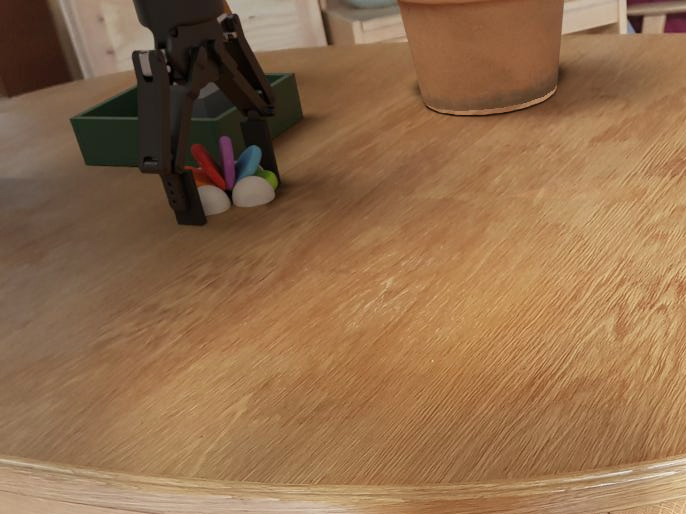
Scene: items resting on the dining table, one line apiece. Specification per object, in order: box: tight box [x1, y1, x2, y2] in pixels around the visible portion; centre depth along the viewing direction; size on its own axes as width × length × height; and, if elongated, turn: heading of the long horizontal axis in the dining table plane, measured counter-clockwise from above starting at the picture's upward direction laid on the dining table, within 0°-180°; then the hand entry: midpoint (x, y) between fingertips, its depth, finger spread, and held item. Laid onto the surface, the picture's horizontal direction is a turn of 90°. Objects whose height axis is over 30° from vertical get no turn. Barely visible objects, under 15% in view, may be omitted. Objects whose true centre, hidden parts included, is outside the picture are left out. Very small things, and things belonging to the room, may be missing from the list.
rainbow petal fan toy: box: [185, 136, 278, 217], centre depth 91 cm, size 8×10×7 cm
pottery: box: [396, 0, 565, 111], centre depth 112 cm, size 22×22×14 cm
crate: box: [69, 72, 304, 168], centre depth 112 cm, size 20×18×5 cm
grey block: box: [173, 82, 234, 118], centre depth 111 cm, size 9×6×5 cm, turn 71°
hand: (234, 210), depth 93 cm, fingers open, 13 cm apart
